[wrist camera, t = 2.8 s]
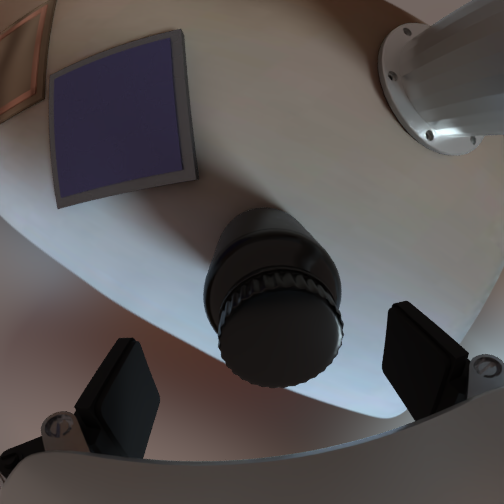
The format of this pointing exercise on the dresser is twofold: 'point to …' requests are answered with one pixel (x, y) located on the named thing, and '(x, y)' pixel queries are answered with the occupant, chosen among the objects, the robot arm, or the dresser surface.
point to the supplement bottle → (273, 300)
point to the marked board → (24, 60)
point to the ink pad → (122, 121)
